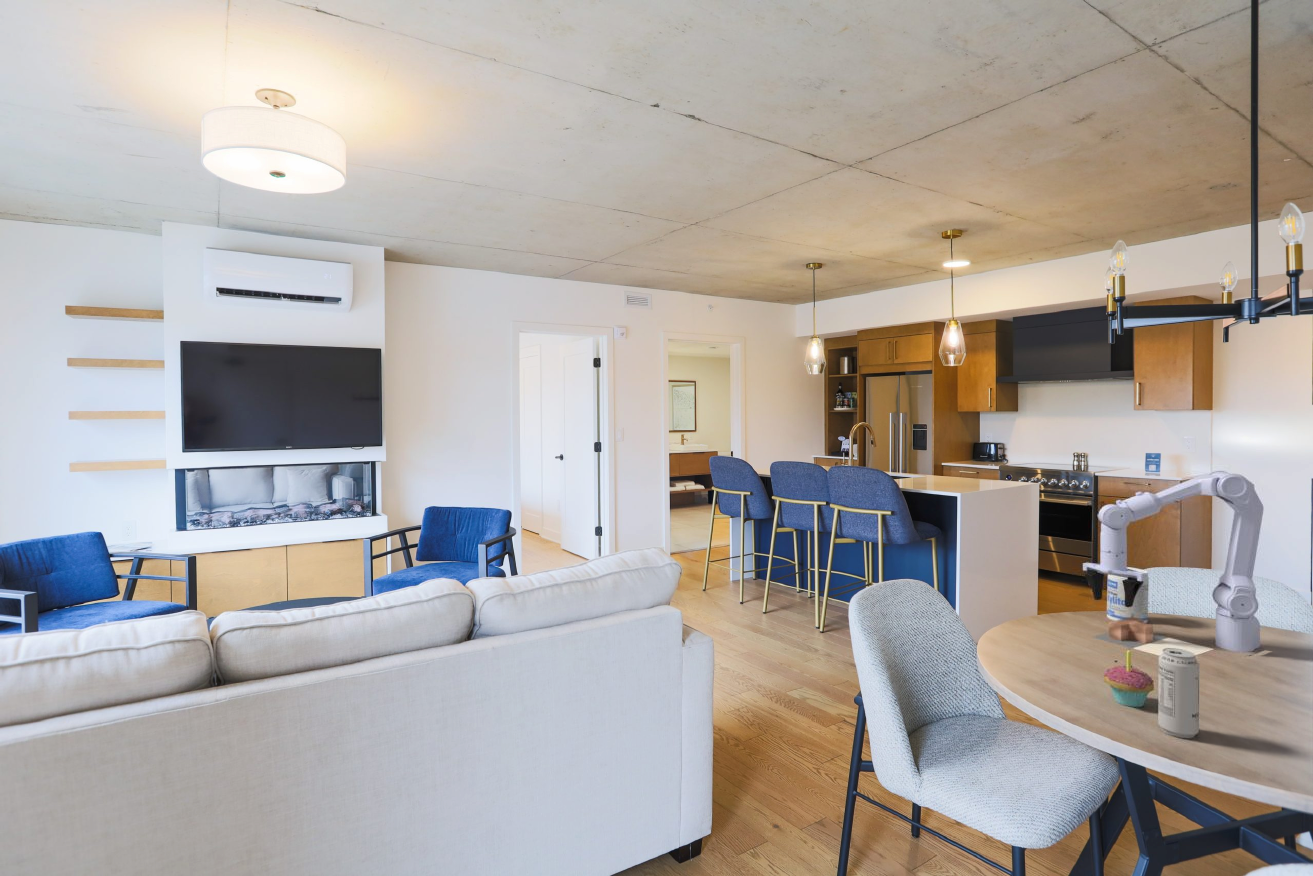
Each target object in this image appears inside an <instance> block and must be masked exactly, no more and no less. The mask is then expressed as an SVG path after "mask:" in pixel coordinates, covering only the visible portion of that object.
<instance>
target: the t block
mask: <svg viewBox="0 0 1313 876" xmlns="http://www.w3.org/2000/svg"><path fill="white" fill-rule="evenodd" d="M1108 632H1109V638H1112V639H1115V640H1119V641H1123V640H1126V639H1131V640H1134V641H1138V642H1142V643H1148V642H1152V641H1153V634H1154V625H1152V624H1150V623H1149V624H1148V623H1143V619H1139V618H1134V617H1128V618H1124V619H1120V620H1116V621H1114V620H1112V621H1109V622H1108Z"/></svg>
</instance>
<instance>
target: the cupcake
mask: <svg viewBox="0 0 1313 876" xmlns="http://www.w3.org/2000/svg"><path fill="white" fill-rule="evenodd" d="M1127 649H1128V650H1127V651H1126V665H1118V666H1114V667H1111V668H1108V669H1107V670H1106V671H1105V672H1104V673H1103V681H1104V682H1105V683H1107V685H1109V687H1110V689H1111V691H1112V693H1113V694H1112V695H1113V696H1114V699H1115V702H1116V703H1118V704H1120V705H1123V706H1126V707H1127V706H1128V707H1130V708H1140V707H1143V706H1144V704H1145V701H1146V699H1147V696H1148V695H1149V693H1150V692H1152V691H1154V690H1155V685H1154V683H1155V682H1154V679H1152V677H1151V676H1149V674H1148V673H1145V672H1143V670H1139V668H1136V667H1132V650H1131V649H1130V647H1127Z"/></svg>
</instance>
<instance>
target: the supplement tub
mask: <svg viewBox="0 0 1313 876" xmlns="http://www.w3.org/2000/svg"><path fill="white" fill-rule="evenodd" d="M1127 568H1128V569H1131V570H1135V571H1139V572H1143V573H1146V581H1143V584H1142V585H1141V587H1140V588H1139V590H1138V592H1137V594H1136V596H1135V599H1134V602H1133V606H1132V607H1125V592H1124V586H1123V582H1122V580H1126V579H1128V578H1124V577H1119V576H1114V575H1108V574H1107V587H1106V588H1107V591H1106V617H1107V619H1109V620H1112V621H1116V620H1120V619H1124V618H1128V617H1134V618H1139V619H1143V623H1145V624H1148V618H1149V616H1148V615H1149V614H1148V612H1149V585H1150V582H1149V572H1148V571H1147V570H1145V569H1140V568H1136V567H1132V566H1131V567H1129V566H1128V567H1127Z"/></svg>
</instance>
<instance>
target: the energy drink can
mask: <svg viewBox="0 0 1313 876" xmlns="http://www.w3.org/2000/svg"><path fill="white" fill-rule="evenodd" d="M1157 680H1158V687H1157V688H1158V702H1157V703H1158V707H1157V708H1158V709H1157V710H1158V711H1157V712H1158V715H1157V716H1158V720H1157V723H1158V725H1159V726H1160V727H1161V730H1162V731H1163V732H1164V733H1165V734H1167V735H1170V736H1172V737H1176V738H1181V739H1193V738H1195V737H1196V735H1197V734H1199V732H1200V663H1199V662H1198V660H1197V658H1196V655H1195V654H1194V653H1192V652H1190V651H1187V650H1182V649H1176V648H1165V649H1163V653H1162V654H1161V655H1160V656H1158V679H1157Z"/></svg>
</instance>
